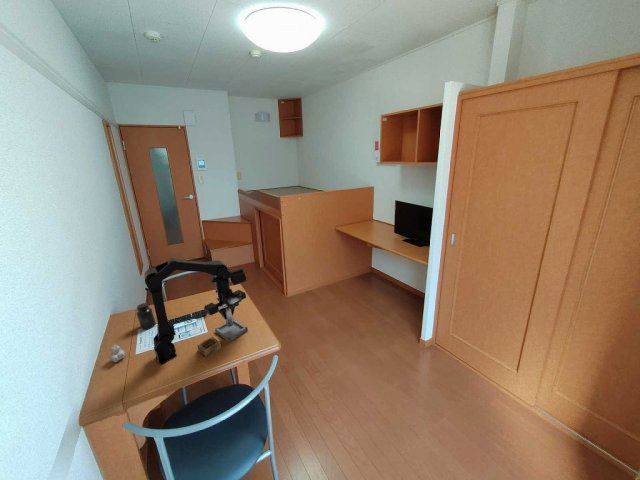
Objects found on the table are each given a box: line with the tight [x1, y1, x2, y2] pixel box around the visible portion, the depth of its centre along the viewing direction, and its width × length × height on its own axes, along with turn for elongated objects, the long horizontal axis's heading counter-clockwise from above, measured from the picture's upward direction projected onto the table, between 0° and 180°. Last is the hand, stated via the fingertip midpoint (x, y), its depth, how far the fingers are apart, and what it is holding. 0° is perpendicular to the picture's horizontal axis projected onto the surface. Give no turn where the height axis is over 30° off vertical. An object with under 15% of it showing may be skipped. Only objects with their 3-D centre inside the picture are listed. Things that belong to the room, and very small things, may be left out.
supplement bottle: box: [136, 302, 157, 330], centre depth 140 cm, size 7×7×12 cm
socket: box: [196, 336, 222, 358], centre depth 121 cm, size 7×7×3 cm
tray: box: [214, 318, 248, 343], centre depth 133 cm, size 10×12×2 cm
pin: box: [223, 304, 234, 327], centre depth 130 cm, size 3×3×10 cm
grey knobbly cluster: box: [108, 343, 126, 363], centre depth 118 cm, size 5×7×8 cm
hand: (228, 317), depth 130 cm, fingers closed on pin, 3 cm apart
